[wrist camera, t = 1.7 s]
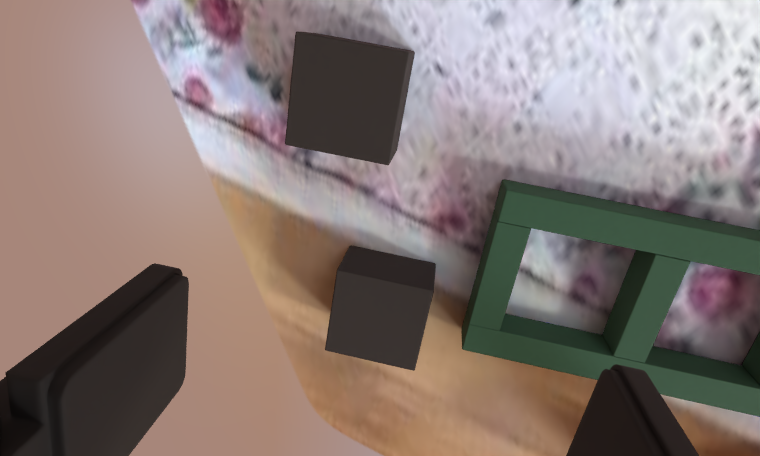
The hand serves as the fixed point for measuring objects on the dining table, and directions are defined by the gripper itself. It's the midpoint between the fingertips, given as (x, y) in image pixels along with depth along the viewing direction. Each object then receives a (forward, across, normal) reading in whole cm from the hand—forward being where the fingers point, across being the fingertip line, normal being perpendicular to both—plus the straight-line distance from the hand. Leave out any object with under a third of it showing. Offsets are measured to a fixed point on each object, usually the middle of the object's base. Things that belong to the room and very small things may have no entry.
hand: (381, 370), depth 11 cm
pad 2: (+21, 0, +10) cm, 23 cm away
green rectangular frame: (+21, -16, +6) cm, 27 cm away
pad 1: (+21, +5, -3) cm, 22 cm away
